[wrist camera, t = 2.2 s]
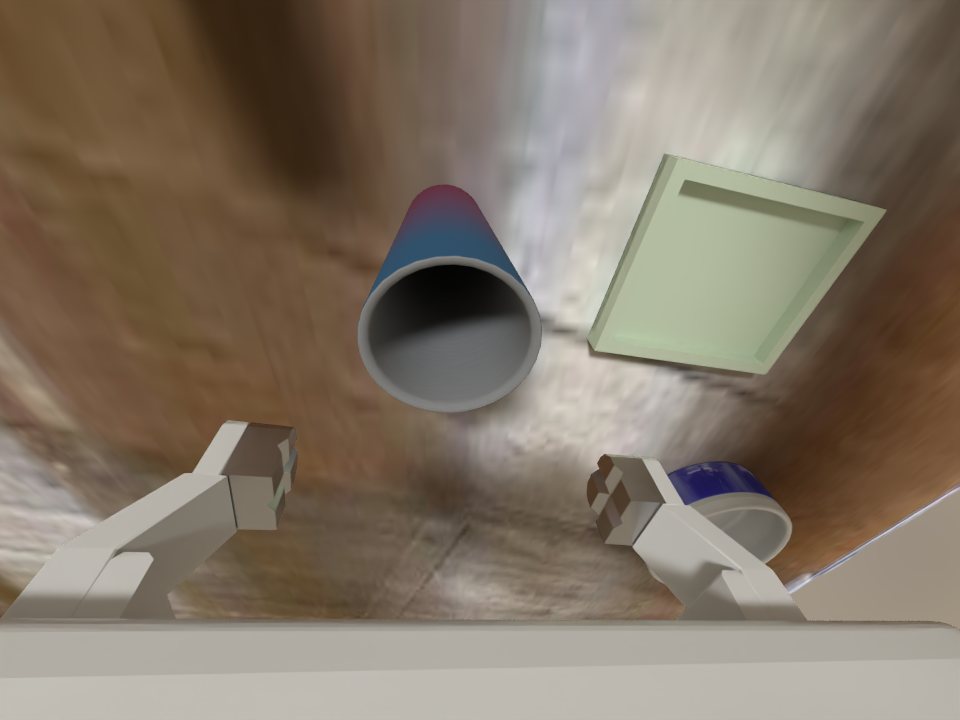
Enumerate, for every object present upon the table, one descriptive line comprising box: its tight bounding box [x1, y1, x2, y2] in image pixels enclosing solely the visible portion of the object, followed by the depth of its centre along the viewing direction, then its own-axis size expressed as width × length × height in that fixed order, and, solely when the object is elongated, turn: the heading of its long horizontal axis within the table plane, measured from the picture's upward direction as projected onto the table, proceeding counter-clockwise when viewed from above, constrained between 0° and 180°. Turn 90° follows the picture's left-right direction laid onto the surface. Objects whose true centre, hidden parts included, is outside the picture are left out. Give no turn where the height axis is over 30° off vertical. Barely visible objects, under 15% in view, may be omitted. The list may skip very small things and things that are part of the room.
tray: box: [587, 154, 887, 375], centre depth 31 cm, size 14×16×2 cm
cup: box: [357, 185, 542, 413], centre depth 21 cm, size 7×7×15 cm
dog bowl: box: [645, 462, 792, 583], centre depth 46 cm, size 15×15×6 cm
